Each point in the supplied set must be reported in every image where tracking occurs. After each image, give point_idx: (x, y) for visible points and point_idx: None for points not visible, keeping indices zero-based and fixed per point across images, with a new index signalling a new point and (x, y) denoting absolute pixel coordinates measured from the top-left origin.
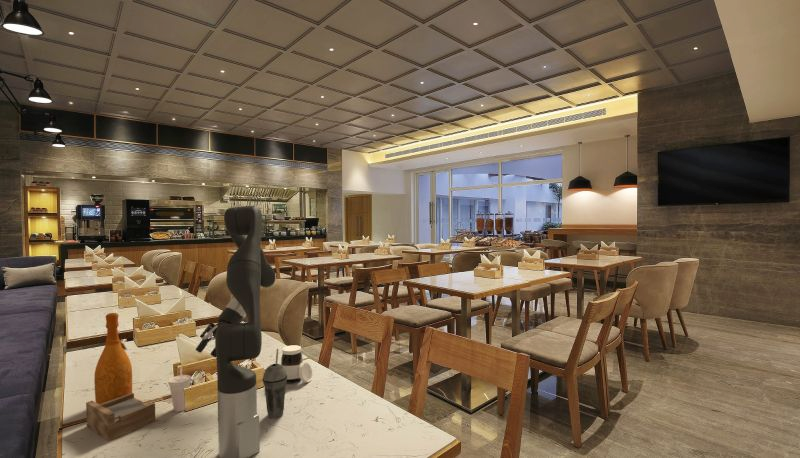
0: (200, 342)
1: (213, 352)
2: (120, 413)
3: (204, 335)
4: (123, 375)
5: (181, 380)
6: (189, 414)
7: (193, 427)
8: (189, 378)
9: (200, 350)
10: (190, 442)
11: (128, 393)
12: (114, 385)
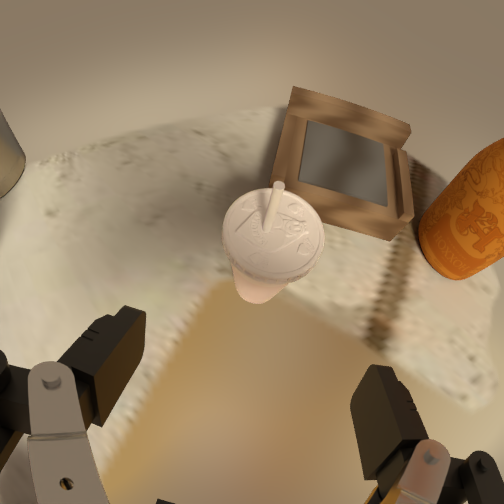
0: (412, 416)
1: (116, 320)
2: (322, 139)
3: (463, 492)
4: (468, 188)
5: (249, 216)
6: (193, 261)
7: (126, 209)
8: (227, 241)
9: (359, 400)
10: (94, 164)
11: (438, 239)
12: (452, 184)
